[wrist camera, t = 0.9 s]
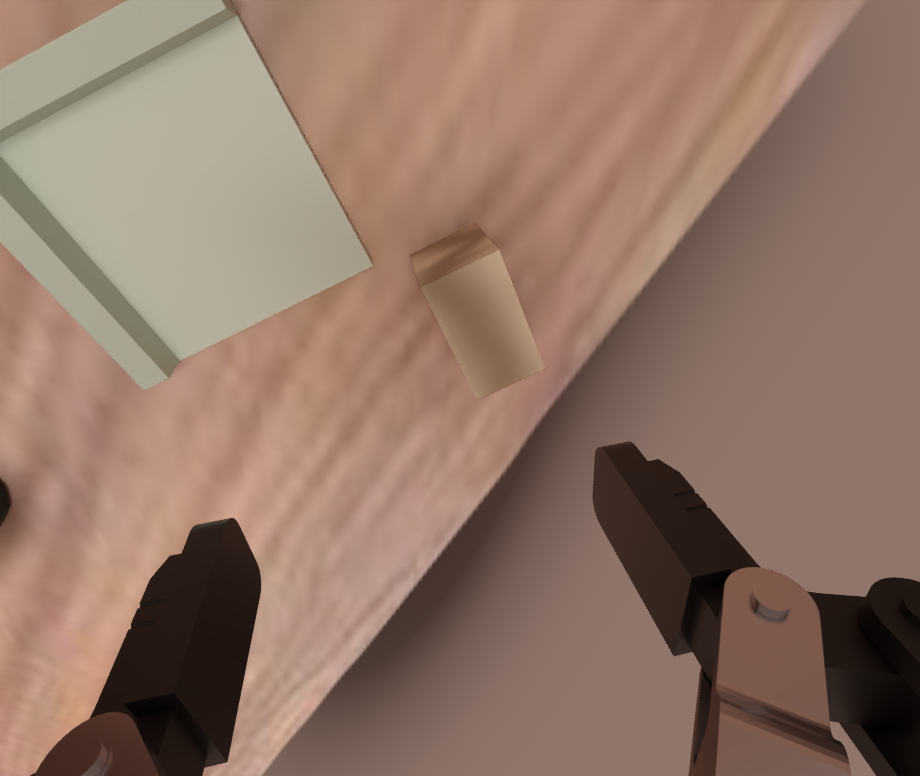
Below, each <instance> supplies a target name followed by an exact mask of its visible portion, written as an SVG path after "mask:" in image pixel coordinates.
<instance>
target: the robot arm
mask: <svg viewBox="0 0 920 776" xmlns="http://www.w3.org/2000/svg"><path fill="white" fill-rule="evenodd" d="M594 464H595V465H594V481H593V505H594V509H595V513H596V516H597V519H598V521H599V523H600V525H601V527H602V529H603V530H604V532H605V534H606V536H607V538H608V539H609V541H610V543H611V545H612V547H613V549H614V550H615V552H616V554H617V556H618V558H619V559H620V561H621V563H622V564H623V566H624V568H625V570H626V572H627V574H628V575H629V577H630V579H631V581H632V582H633V584H634V586H635V588H636V590H637V591H638V593H639V595H640V597H641V599H642V600H643V602H644V604H645V606H646V607H647V609H648V611H649V613H650V615H651V616H652V618H653V620H654V622H655V624H656V625H657V627H658V629H659V630H660V632H661V634H662V636H663V638H664V640H665V641H666V643H667V645H668V647H669V648H670V650H671V652H672V654H673V655H674V656H677V655H681V654H685V653H689V652H693V653H694V655H695V657H696V658H697V660H698V662H699V663H700V665H701V670H700V674H699V683H698V684H699V685H698V693H697V702H696V711H695V721H694V730H693V739H692V749H691V757H690V767H689V774H688V776H851V770H850V764H849V759H848V755H847V752H846V749H845V747H844V745H843V744H842V743H841V742H840V741H838V740H835V739H834V738H833V736H832V733H831V729H830V721H833V722H839V723H840V724H841V726H842V727H843V729H844V730H845V732H846V733H847V734H848V736H849V737H850V739H851V740H852V742H853V743H854V744H855V746H856V747H857V749H858V750H859V751H860V753H861V754H862V756H863V757H864V759H865V760H866V762H867V763H868V764H869V766H870V767H871V769H872V770H873V771H874V773H875V774H876V776H920V582H918V581H914V580H911V579H905V578H895V577H893V578H885V579H881V580H879V581H877V582H875V583H874V584H873V585H872V586H871V588H870V590H869V592H868V594H867V595H866V597H859V596H847V595H835V594H821V593H813V592H808V591H806V590H805V589H804V588H802V587H801V586H800V585H799V584H798V583H796V582H795V581H793V580H792V579H790V578H789V577H787V576H785V575H783V574H781V573H778V572H776V571H773V570H769V569H765V568H761V567H760V566H759V565H758V564H757V563H756V562H755V561H754V560H753V558H752V557H751V556H750V555H749V554H748V553H747V551H746V550H745V549H744V548H743V547H742V545H741V544H740V543H739V542H738V541H737V540H736V538H735V537H734V536H733V535H732V534H731V533H730V531H729V530H728V529H727V528H726V527H725V525H724V524H723V523H722V522H721V521H720V519H719V518H718V517H717V516H716V515H715V514H714V512H713V511H712V510H711V509H710V508H707V505H706V503H705V502H704V501H703V499H702V498H701V497H700V496H699V495H698V494H697V493H695V492H694V489H693V488H692V486H691V485H690V484H689V483H688V482H687V481H686V480H685V478H684V477H683V476H682V475H681V473H680V472H678V471H677V470H675V469H673V468H672V467H670V466H668V465H667V464H665V463H663V462H662V461H660V460H659V459H657V460H653V461H647V460H646V458H645V457H644V456H643V455H642V454H641V452H640V451H639V450H638V448H637V447H636V446H635V445H634V444H633V443H632V442H624V443H619V444H614V445H609V446H603V447H599V448H597V450H596V452H595V463H594ZM260 593H261V576H260V570H259V567H258V564H257V562H256V559H255V557H254V555H253V553H252V551H251V549H250V547H249V545H248V543H247V541H246V538H245V536H244V534H243V532H242V530H241V528H240V526H239V524H238V522H237V521H236V520H235V519H234V518H229V519H224V520H219V521H214V522H209V523H204V524H198V525H195V526H194V527H193V528H192V529H191V531H190V533H189V536H188V538H187V541H186V544H185V546H184V549H183V551H182V554H177V555H172V556H169V557H168V559H167V560H166V561H165V562H164V563H163V565H162V566H161V567H160V568H159V569H158V570H157V572H156V573H155V574H154V575H153V576H152V578H151V579H150V581H149V583H148V585H147V588H146V590H145V592H144V595H143V597H142V599H141V602H140V608H139V609H137V611H136V613H135V616H134V618H133V620H132V623H131V629H130V630H128V632H127V634H126V637H125V639H124V641H123V644H122V646H121V648H120V651H119V653H118V655H117V658H116V660H115V662H114V665H113V667H112V669H111V672H110V674H109V676H108V679H107V681H106V683H105V686H104V688H103V690H102V693H101V695H100V697H99V700H98V702H97V704H96V707H95V709H94V711H93V713H92V715H91V717H90V719H88V720H87V721H85V722H83V723H81V724H80V725H78V726H77V727H75V728H74V729H73V730H71V731H70V732H69V733H68V734H66V735H65V736H64V737H63V738H62V739H61V740H60V741H59V742H58V743H57V744H56V745H55V746H54V747H53V748H52V749H51V751H50V752H49V753H48V754H47V756H46V757H45V758H44V760H43V761H42V763H41V764H40V766H39V768H38V769H37V771H36V773H34V774H33V775H31V776H202V775H203V771H204V768H205V767H209V766H213V765H217V764H221V763H226V762H228V757H229V752H230V747H231V742H232V736H233V731H234V726H235V721H236V716H237V711H238V706H239V701H240V696H241V691H242V685H243V680H244V675H245V670H246V665H247V660H248V655H249V650H250V645H251V640H252V635H253V629H254V624H255V619H256V614H257V609H258V604H259V599H260Z"/></svg>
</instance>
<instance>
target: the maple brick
mask: <svg viewBox="0 0 920 776" xmlns="http://www.w3.org/2000/svg"><path fill="white" fill-rule="evenodd" d="M410 258H411V261H412V264H413V267H414V270H415V273H416V276H417V279H418V282H419V285H420V288H421V290H422V292H423V294H424V296H425V298H426V300H427V302H428V304H429V306H430V308H431V310H432V312H433V314H434V316H435V318H436V320H437V322H438V324H439V326H440V328H441V330H442V332H443V334H444V336H445V338H446V340H447V342H448V344H449V346H450V348H451V350H452V352H453V354H454V356H455V358H456V360H457V362H458V364H459V366H460V368H461V370H462V372H463V374H464V376H465V378H466V380H467V382H468V384H469V386H470V388H471V390H472V392H473V394H474V396H475V398H476V400H479V399H481V398H483V397H485V396H487V395H489V394H492V393H494V392H496V391H498V390H500V389H502V388H504V387H507V386H509V385H511V384H513V383H515V382H517V381H520V380H522V379H524V378H526V377H528V376H530V375H532V374H535V373H537V372H539V371H541V370H543V369H545V367H544V365H543V362H542V359H541V357H540V354H539V352H538V349H537V346H536V344H535V341H534V338H533V336H532V333H531V331H530V328H529V325H528V323H527V320H526V318H525V315H524V312H523V310H522V307H521V305H520V302H519V299H518V297H517V294H516V292H515V289H514V286H513V284H512V281H511V279H510V276H509V273H508V271H507V268H506V266H505V263H504V260H503V258H502V255H501V252H500V250H499V249H498V248H497V246H496V245H495V244H494V243H493V242H492V241H491V240H490V239H489V238H488V237H487V236H486V234H485V233H484V232H483V231H482V230H481V229H480V228H479V227H478V226H477V225H476V224H475V223H474V224H472V225H470V226H468V227H466V228H464V229H462V230H460V231H458V232H456V233H454V234H452V235H450V236H448V237H446V238H444V239H442V240H440V241H438V242H436V243H434V244H432V245H430V246H427V247H425V248H423V249H421V250H419V251H417V252H415V253H413V254H411V255H410Z"/></svg>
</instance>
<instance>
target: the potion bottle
mask: <svg viewBox="0 0 920 776" xmlns="http://www.w3.org/2000/svg"><path fill="white" fill-rule="evenodd" d="M9 506H10V504H9V501H8V498H7V494H6V491H5V488H4V486H3V485H2V484H1V483H0V526H1V524H2V523H3V521H4V520H5V517H6V515H7V512H8V509H9Z"/></svg>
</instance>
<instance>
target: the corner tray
mask: <svg viewBox="0 0 920 776" xmlns="http://www.w3.org/2000/svg"><path fill="white" fill-rule="evenodd" d="M0 242H1V243H2V244H3V245H4V246H5V247H6V248H7V250H8V251H9V252H10V253H11V254H12V255H13V256H14V257H15V258H16V259H17V260H18V261H19V262H20V263H21V264H22V265H23V266H24V267H25V268H26V269H27V270H28V271H29V272H30V273H31V274H32V275H33V276H34V277H35V278H36V279H37V281H38V282H39V283H40V284H41V285H42V286H43V287H44V288H45V289H46V290H47V291H48V292H49V293H50V294H51V295H52V296H53V297H54V298H55V299H56V300H57V301H58V302H59V303H60V304H61V305H62V306H63V307H64V308H65V309H66V311H67V312H68V313H69V314H70V315H71V316H72V317H73V318H74V319H75V320H76V321H77V322H78V323H79V324H80V325H81V326H82V327H83V328H84V329H85V330H86V331H87V332H88V333H89V334H90V335H91V336H92V337H93V338H94V339H95V341H96V342H97V343H98V344H99V345H100V346H101V347H102V348H103V349H104V350H105V351H106V352H107V353H108V354H109V355H110V356H111V357H112V358H113V359H114V360H115V361H116V362H117V363H118V364H119V365H120V366H121V367H122V368H123V369H124V370H125V372H126V373H127V374H128V375H129V376H130V377H131V378H132V379H133V380H134V381H135V382H136V383H137V384H138V385H139V386H140V387H141V388H142V389H143V390H146V389H148V388H150V387H152V386H154V385H156V384H158V383H160V382H162V381H164V380H166V379H168V378H169V377H170V376H171V374H172V372H173V371H174V369H175V368H176V366H177V365H178V363H179V362H180V361H181V360H183V359H185V358H187V357H189V356H191V355H193V354H195V353H197V352H199V351H201V350H203V349H205V348H207V347H209V346H211V345H213V344H215V343H218V342H220V341H222V340H224V339H226V338H228V337H230V336H232V335H234V334H236V333H238V332H240V331H242V330H244V329H246V328H248V327H250V326H252V325H254V324H256V323H258V322H260V321H262V320H264V319H266V318H268V317H270V316H273V315H275V314H277V313H279V312H281V311H283V310H285V309H287V308H289V307H291V306H293V305H295V304H297V303H299V302H301V301H303V300H305V299H307V298H309V297H311V296H313V295H315V294H317V293H319V292H321V291H323V290H325V289H327V288H330V287H332V286H334V285H336V284H338V283H340V282H342V281H344V280H346V279H348V278H350V277H352V276H354V275H356V274H358V273H360V272H362V271H364V270H366V269H368V268H370V267H372V266H373V263H372V261H371V259H370V257H369V255H368V253H367V251H366V250H365V248H364V246H363V244H362V242H361V240H360V239H359V237H358V235H357V233H356V231H355V229H354V228H353V226H352V224H351V222H350V220H349V218H348V217H347V215H346V213H345V211H344V209H343V207H342V205H341V204H340V202H339V200H338V198H337V196H336V194H335V193H334V191H333V189H332V187H331V185H330V183H329V182H328V180H327V178H326V176H325V174H324V172H323V170H322V169H321V167H320V165H319V163H318V161H317V159H316V158H315V156H314V154H313V152H312V150H311V148H310V147H309V145H308V143H307V141H306V139H305V137H304V135H303V134H302V132H301V130H300V128H299V126H298V124H297V123H296V121H295V119H294V117H293V115H292V113H291V112H290V110H289V108H288V106H287V104H286V102H285V101H284V99H283V97H282V95H281V93H280V91H279V89H278V88H277V86H276V84H275V82H274V80H273V78H272V77H271V75H270V73H269V71H268V69H267V67H266V66H265V64H264V62H263V60H262V58H261V56H260V54H259V53H258V51H257V49H256V47H255V45H254V43H253V42H252V40H251V38H250V36H249V34H248V32H247V31H246V29H245V27H244V25H243V23H242V21H241V19H240V18H239V16H238V14H237V12H236V10H235V8H234V7H233V5H232V3H231V1H230V0H127V1H125V2H123V3H121V4H120V5H118V6H116V7H114V8H112V9H110V10H109V11H107V12H105V13H103V14H101V15H99V16H98V17H96V18H94V19H92V20H90V21H88V22H87V23H85V24H83V25H81V26H79V27H77V28H76V29H74V30H72V31H70V32H68V33H66V34H65V35H63V36H61V37H59V38H57V39H55V40H54V41H52V42H50V43H48V44H46V45H44V46H43V47H41V48H39V49H37V50H35V51H33V52H32V53H30V54H28V55H26V56H24V57H22V58H21V59H19V60H17V61H15V62H13V63H11V64H10V65H8V66H6V67H4V68H2V69H0Z"/></svg>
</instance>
